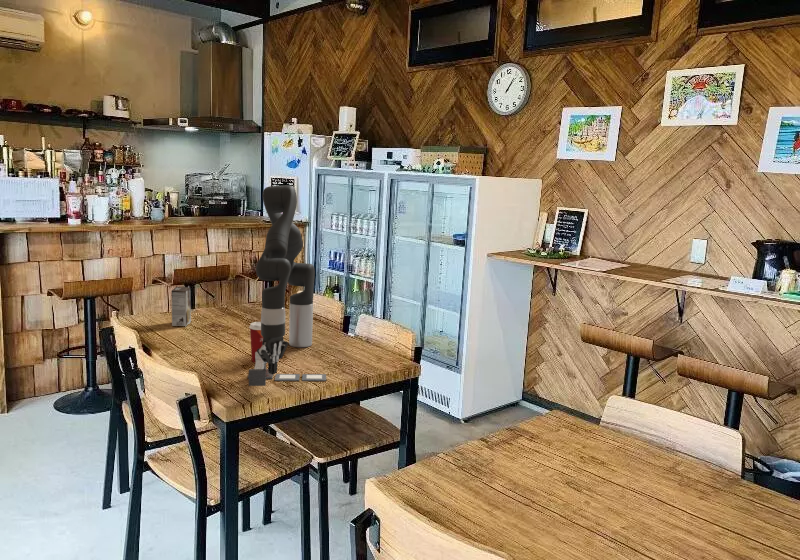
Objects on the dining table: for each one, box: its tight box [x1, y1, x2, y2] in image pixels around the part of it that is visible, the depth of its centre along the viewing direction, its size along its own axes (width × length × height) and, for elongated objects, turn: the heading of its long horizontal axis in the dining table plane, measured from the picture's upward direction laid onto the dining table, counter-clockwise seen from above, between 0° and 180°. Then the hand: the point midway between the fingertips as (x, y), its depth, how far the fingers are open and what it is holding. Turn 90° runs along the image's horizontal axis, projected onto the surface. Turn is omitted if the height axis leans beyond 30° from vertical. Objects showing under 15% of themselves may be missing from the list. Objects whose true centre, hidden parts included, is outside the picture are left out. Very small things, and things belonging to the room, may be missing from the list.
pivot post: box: [247, 363, 274, 380], centre depth 207 cm, size 8×8×4 cm
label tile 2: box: [301, 373, 327, 382], centre depth 207 cm, size 6×8×1 cm
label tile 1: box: [274, 373, 301, 382], centre depth 206 cm, size 6×8×1 cm
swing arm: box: [248, 352, 268, 387], centre depth 198 cm, size 23×5×5 cm, turn 9°
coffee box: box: [171, 286, 192, 328], centre depth 267 cm, size 9×6×16 cm
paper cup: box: [248, 321, 263, 364], centre depth 222 cm, size 8×8×14 cm
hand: (272, 373), depth 194 cm, fingers closed
